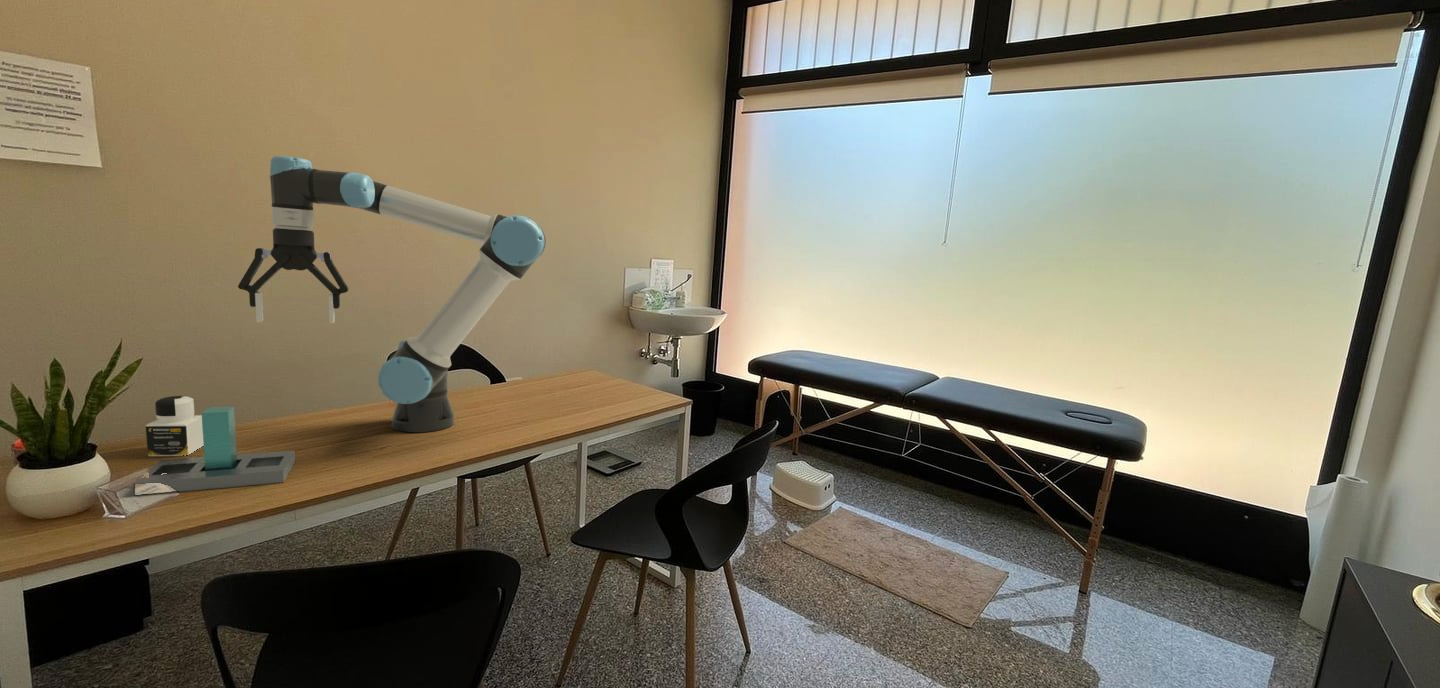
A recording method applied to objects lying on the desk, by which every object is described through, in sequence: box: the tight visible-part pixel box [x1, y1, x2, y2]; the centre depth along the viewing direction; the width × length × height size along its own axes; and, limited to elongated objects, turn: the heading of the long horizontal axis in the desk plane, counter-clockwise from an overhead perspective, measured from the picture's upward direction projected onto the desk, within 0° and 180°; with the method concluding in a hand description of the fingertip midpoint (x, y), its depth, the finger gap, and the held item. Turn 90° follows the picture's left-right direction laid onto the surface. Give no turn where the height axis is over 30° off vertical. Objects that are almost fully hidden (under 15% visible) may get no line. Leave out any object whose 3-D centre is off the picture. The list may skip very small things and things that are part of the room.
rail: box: [133, 450, 296, 493], centre depth 115 cm, size 22×12×2 cm, turn 117°
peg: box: [201, 405, 238, 471], centre depth 115 cm, size 4×4×14 cm
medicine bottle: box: [145, 395, 204, 457], centre depth 126 cm, size 7×7×12 cm
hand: (296, 322), depth 133 cm, fingers open, 13 cm apart
